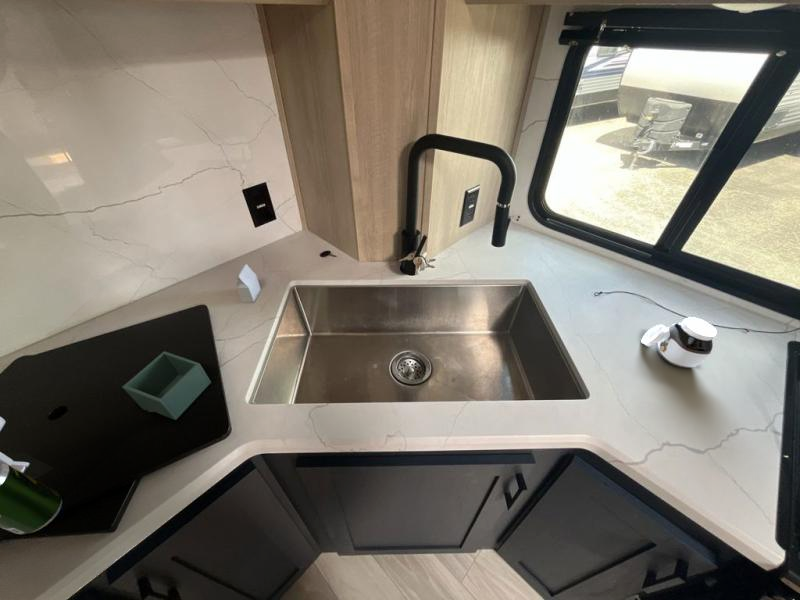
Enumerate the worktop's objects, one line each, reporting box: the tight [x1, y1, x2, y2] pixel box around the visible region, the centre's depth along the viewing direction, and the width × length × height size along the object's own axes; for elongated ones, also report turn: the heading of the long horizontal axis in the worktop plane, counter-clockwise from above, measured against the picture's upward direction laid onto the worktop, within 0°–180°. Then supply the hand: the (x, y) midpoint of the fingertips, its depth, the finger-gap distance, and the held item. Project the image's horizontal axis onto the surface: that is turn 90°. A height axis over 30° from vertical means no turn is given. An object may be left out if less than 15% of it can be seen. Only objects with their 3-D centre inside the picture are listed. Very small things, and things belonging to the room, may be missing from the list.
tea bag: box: [235, 263, 262, 304], centre depth 99 cm, size 4×7×10 cm, turn 1°
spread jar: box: [641, 316, 718, 369], centre depth 84 cm, size 12×11×12 cm
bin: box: [121, 350, 212, 421], centre depth 72 cm, size 10×10×9 cm
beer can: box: [0, 462, 63, 535], centre depth 43 cm, size 5×5×12 cm
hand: (12, 495), depth 43 cm, fingers closed on beer can, 5 cm apart
